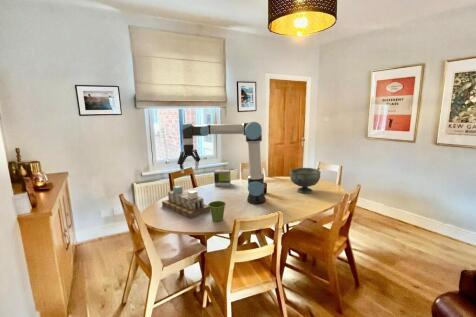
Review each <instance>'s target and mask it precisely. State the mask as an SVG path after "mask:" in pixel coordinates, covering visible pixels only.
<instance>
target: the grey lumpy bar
mask: <svg viewBox="0 0 476 317" xmlns="http://www.w3.org/2000/svg"><path fill="white" fill-rule="evenodd" d="M167 193H168V195H167V196H168V199H169V201H171V202H174V203H176V204H178V205H181V206H183V207H186V208H188V209H191V210H193V211H195V210H196V209H200V207H202V208H203V207H204V204H205V203H204V197H202V196H198V198H194V199H190V198H188V191H184V190H182V192H181V193H178V194H176V193H173V190H171V191H170V190H169V191H168V192H167ZM195 208H196V209H195Z"/></svg>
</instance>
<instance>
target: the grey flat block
mask: <svg viewBox="0 0 476 317" xmlns="http://www.w3.org/2000/svg"><path fill="white" fill-rule="evenodd" d="M161 206H162V208H164V209H168V210H170V211H172V212H175V213H177V214H179V215H181V216H183V217H185V218H188V219H190V220H191V219H194V218H196V217H198V216H201V215H204V214H207V213H209V212H211V211H210V208H209V206H208V204H205V203H204V207H203V208H202V207H200V209H196V208H195V209H196V210H195V211H193V210H191V209H188V208H186V207H183V206H181V205H178V204H176V203H174V202H171V201H169V198H168V199H166V200H164V199H163V200H162V201H161Z"/></svg>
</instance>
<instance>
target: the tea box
mask: <svg viewBox="0 0 476 317" xmlns="http://www.w3.org/2000/svg"><path fill="white" fill-rule="evenodd" d="M213 173H214V174H213V176H214V177H213V178H214V187H230V185H231V169H215V170H214V172H213Z"/></svg>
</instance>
